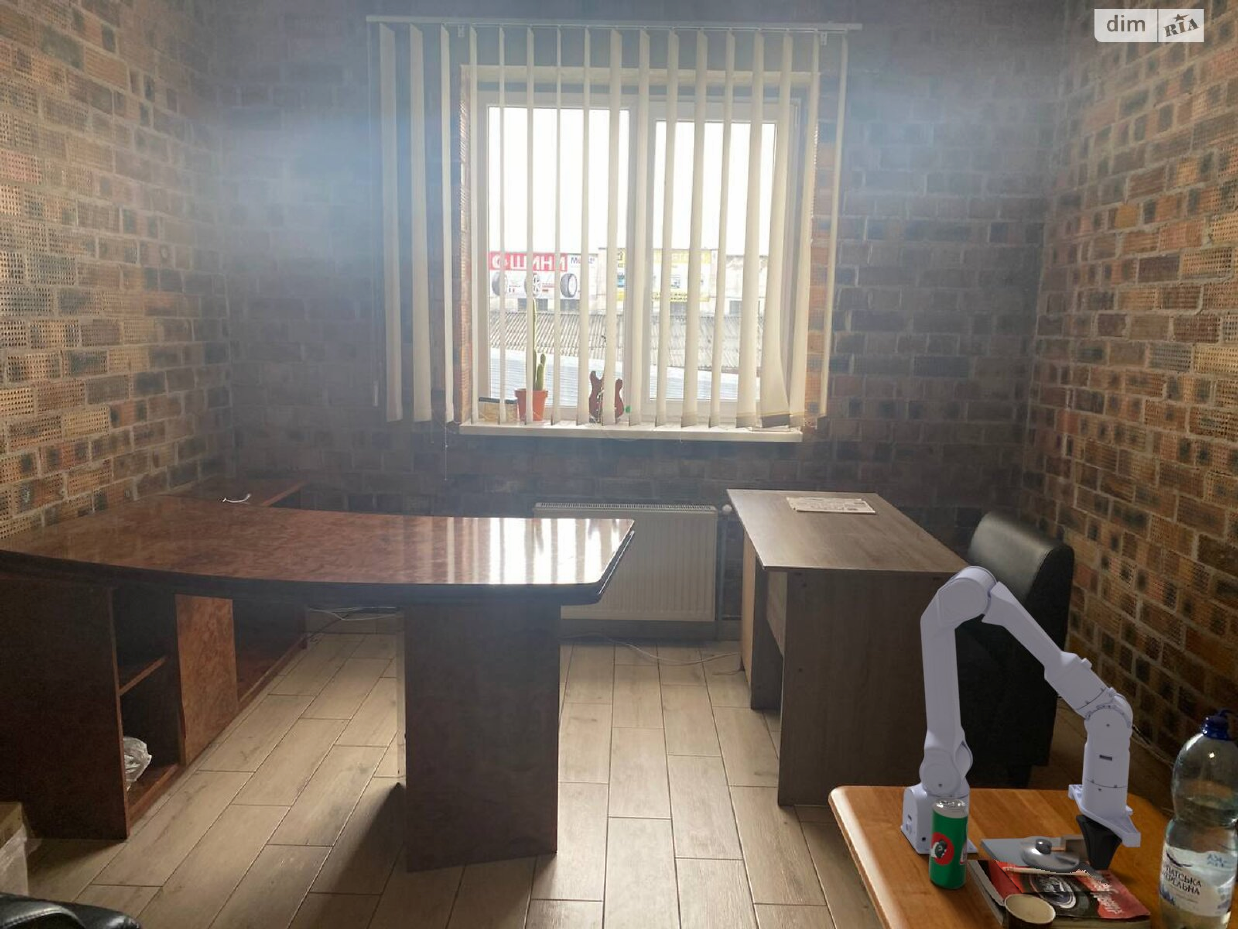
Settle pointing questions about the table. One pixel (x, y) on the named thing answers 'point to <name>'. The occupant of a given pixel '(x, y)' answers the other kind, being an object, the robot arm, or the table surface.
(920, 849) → the robot arm
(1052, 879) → the table surface
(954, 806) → the soda can
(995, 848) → the stand plate
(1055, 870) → the cam
